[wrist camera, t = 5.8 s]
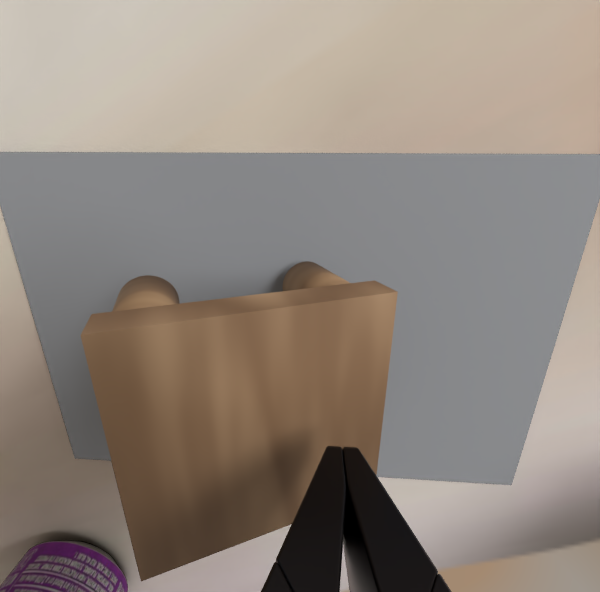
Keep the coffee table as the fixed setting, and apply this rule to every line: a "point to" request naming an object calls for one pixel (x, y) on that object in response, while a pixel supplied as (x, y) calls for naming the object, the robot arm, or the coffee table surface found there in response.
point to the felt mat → (332, 256)
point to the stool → (234, 403)
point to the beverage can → (65, 570)
